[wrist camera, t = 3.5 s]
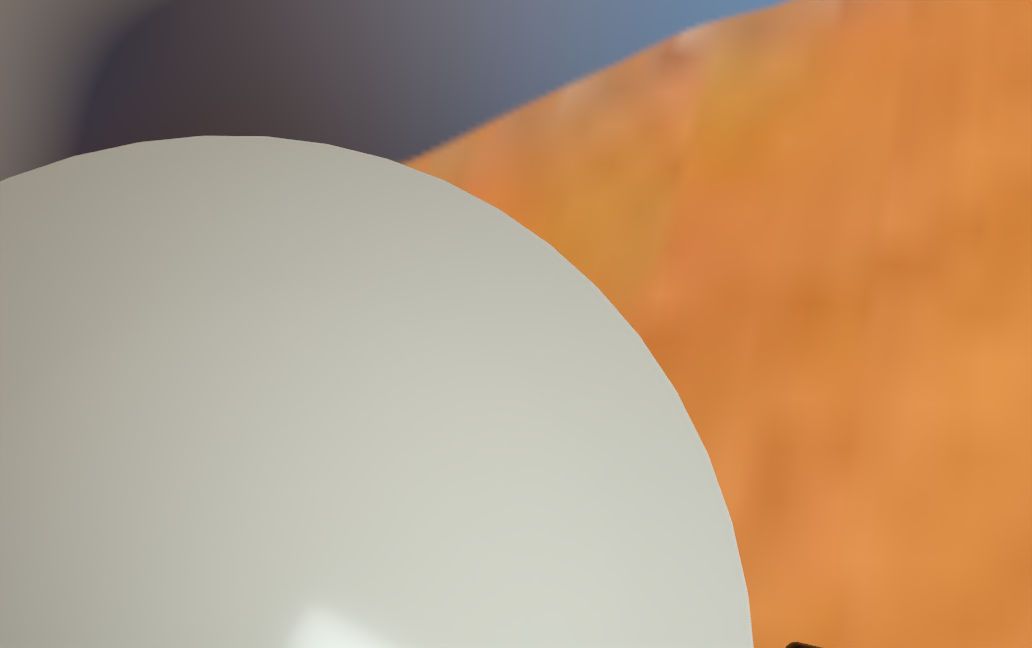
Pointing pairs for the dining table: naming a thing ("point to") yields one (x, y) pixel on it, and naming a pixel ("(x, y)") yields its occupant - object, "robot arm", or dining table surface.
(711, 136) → the dining table surface
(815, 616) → the dining table surface
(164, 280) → the tapered white cylinder
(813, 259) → the dining table surface
